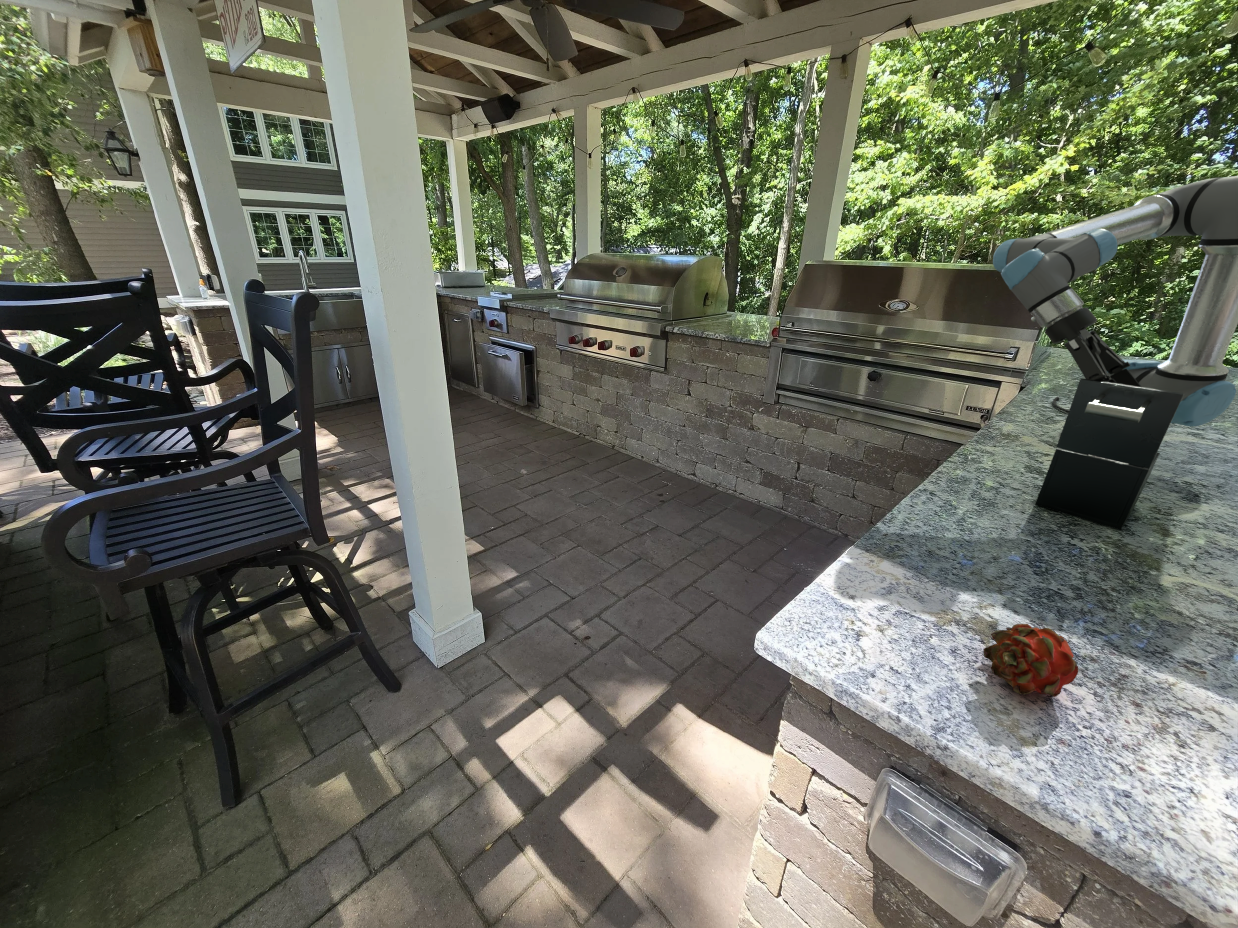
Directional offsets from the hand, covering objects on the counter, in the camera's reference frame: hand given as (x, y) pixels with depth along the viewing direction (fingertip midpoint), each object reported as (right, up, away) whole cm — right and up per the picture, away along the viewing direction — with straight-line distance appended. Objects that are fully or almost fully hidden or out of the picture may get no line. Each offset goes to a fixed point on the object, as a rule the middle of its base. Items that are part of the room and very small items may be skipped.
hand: (1133, 404), depth 97 cm
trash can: (-2, -21, +8) cm, 22 cm away
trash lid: (-8, -4, -5) cm, 10 cm away
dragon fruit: (-50, -39, -34) cm, 72 cm away
